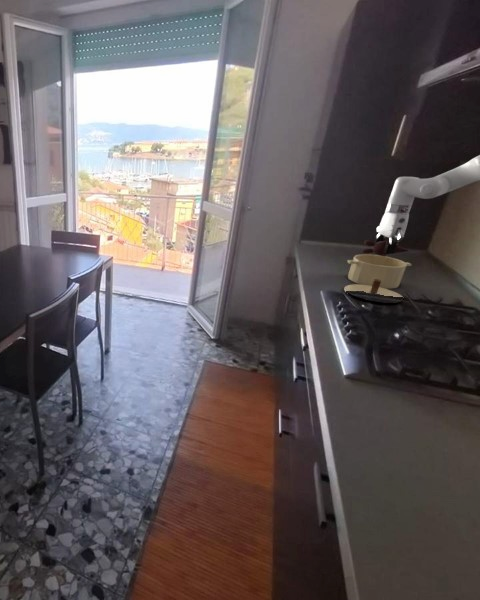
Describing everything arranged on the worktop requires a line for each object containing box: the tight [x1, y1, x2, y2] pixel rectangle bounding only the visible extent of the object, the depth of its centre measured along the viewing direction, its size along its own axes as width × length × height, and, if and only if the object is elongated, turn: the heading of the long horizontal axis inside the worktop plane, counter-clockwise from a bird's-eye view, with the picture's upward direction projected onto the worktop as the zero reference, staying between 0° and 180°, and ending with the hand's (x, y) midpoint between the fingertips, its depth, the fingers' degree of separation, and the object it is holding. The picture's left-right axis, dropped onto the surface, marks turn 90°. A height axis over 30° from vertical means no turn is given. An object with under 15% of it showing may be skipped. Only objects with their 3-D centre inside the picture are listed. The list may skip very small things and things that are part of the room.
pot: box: [347, 253, 413, 290], centre depth 155 cm, size 18×23×10 cm
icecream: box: [361, 239, 409, 257], centre depth 151 cm, size 7×7×15 cm
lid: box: [343, 279, 403, 297], centre depth 141 cm, size 19×19×7 cm
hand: (383, 250), depth 152 cm, fingers closed on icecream, 7 cm apart
